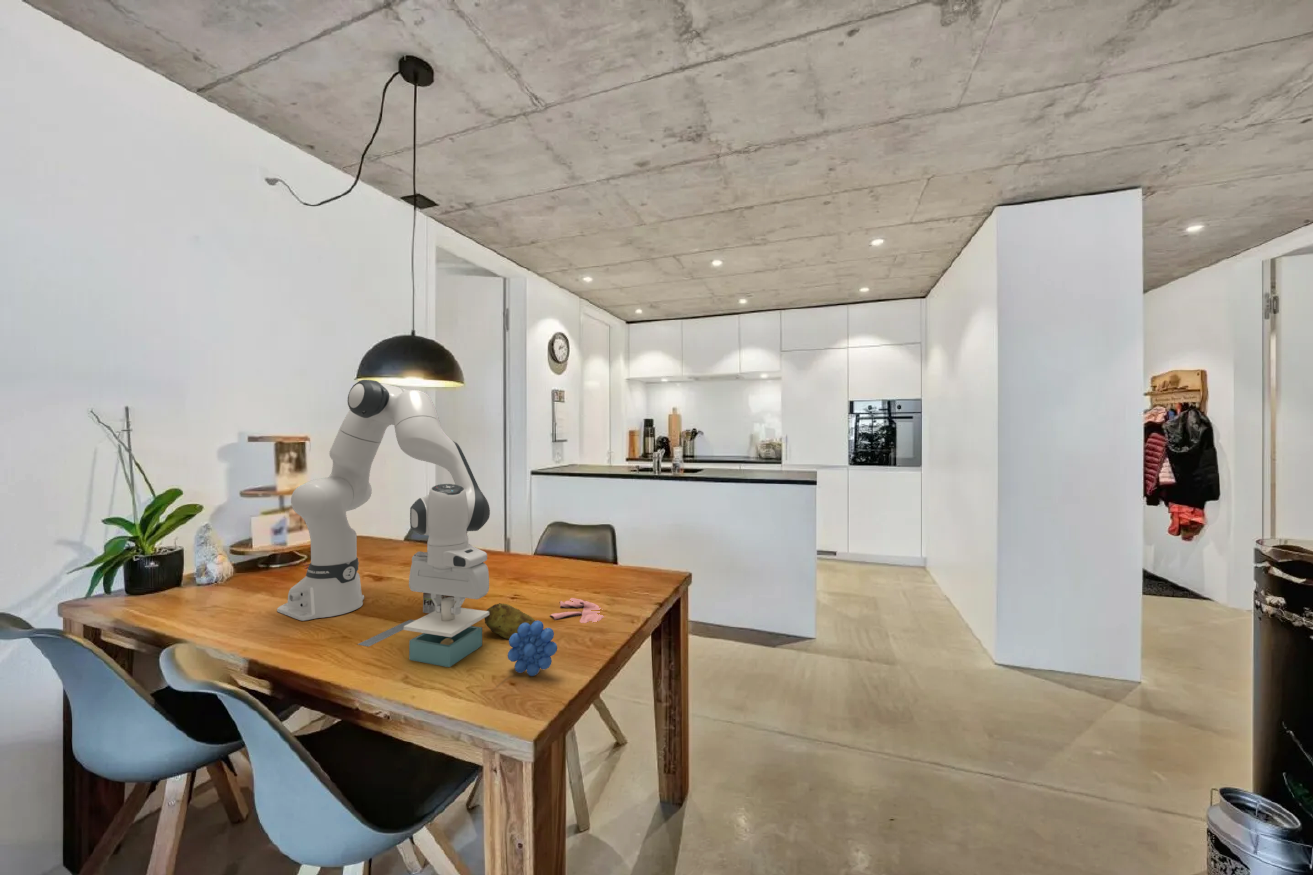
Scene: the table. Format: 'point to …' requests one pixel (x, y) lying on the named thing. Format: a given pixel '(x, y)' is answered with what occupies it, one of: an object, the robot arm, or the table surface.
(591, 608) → the cloth
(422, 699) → the table surface
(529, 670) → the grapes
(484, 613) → the lid
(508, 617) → the potato
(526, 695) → the table surface
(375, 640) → the mat
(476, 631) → the dish
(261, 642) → the table surface
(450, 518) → the robot arm
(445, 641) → the apricot
